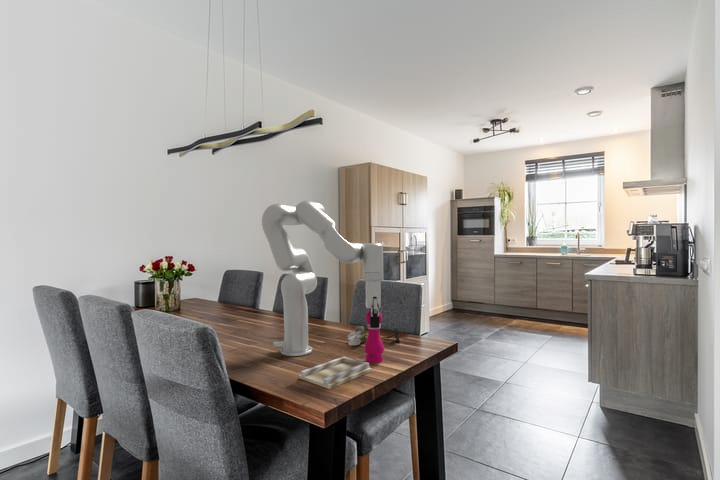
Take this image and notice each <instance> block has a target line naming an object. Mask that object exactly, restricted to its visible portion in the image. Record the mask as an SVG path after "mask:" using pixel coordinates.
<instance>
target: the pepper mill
mask: <svg viewBox="0 0 720 480" xmlns="http://www.w3.org/2000/svg"><path fill="white" fill-rule="evenodd" d="M372 308H374V307H372ZM370 316H371V311H369V310H368V311H367V313H366V314H365V321H366V322H367V324H366V325H367V326H366V327H367V329H368V334H367V338H366V340H367V341H366V342H364V343H365V345H364V352H365V354H366V355H365V362H367V363H369V364H381V363H382V362H384V356H383V353H384V352H385V345H384V343H383V340H382V339H381V338H382V337H381V333H380V330H381V326H382V324H381V322H382V321H383V315H382V313H381V312H380V311H379V326H380V327H379V328H371V327H370Z"/></svg>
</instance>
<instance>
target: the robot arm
mask: <svg viewBox="0 0 720 480" xmlns="http://www.w3.org/2000/svg"><path fill="white" fill-rule="evenodd" d="M301 225H305V226H306V227H307V228H308V229H309V230H310V231H312V232H313V233H314V234H315V235H316V236H317V237H319V239H320V241H321V243H322V245H323V246H324V249H326V250H327V252H329V253H330V255H332V257H334V258H336V259H337V260H338V261H339V262H341V263H343V264H345V265H349V264H355V263H362V281H363V282H365V302H364V303H365V307H366V309H367V310H368V312H369V311H371V316H370V327H371V328H379V327H380V326H381V325H380V326H379V312H380V310H379V309H381V304H382V303H381V302H382V301H381V299H382V297H381V295H382V294H381V293H382V292H381V289H382V288H381V287H382V286H381V282H384V279H385V278H384V276H385V275H384V247H383V244H382V243H380V242H379V243H377V242H375V243H373V242H372V243H371V242H370V243H369V242H368V243H361V242H349V241H347V240H346V239H344V237H343V236H342V235H340V233H339V232H338V231H337V230H336V222H335V220H334V219H332V217H330V216H329V215H328V214H327V213H326V209H325V207H324V206H323V205H322V204H321V203H319V202H317V201H312V200H302V201H300V202H298V204H296V205H292V204H285V203H273V204H271V205H269V206H267V207H266V208H265V210H264V212H263V213H262V216H261V227H262V231H263V233H264V236H265V238H266V240H267V242H268V245H269V248H270V250H271V253H272V257H273V259H274V262H275V264H276V266H277V268H278V269H279V270H280V271H283V272H290V271H292V272H291V273H289V274H287V275H285V276H284V277H283V279H282V280H281V283H280V291H281V295H282V302H283V334H284V335H283V340H281V341H273V343H272V346H273V347H275V349H277V348H278V349H279V348H280V351H279V352H280V354H281V355H283V356H287V357H300V356H306V355H308V354H309V355H310V354H311V353H312V352H313V347H312V346H310V345H309V310H308V301H307V299H306V295H308V294H311V293H313V292H314V291H315V289H316V288H317V286H318V278H317V275H316V272H315V269H314V267H313V264H312V262H311V259H310V256H309V255H308V253H307V252H306V250H305V249H303V248H301V247H298V246H297V247H296V246H295V247H294V245H293V243H292V242H291V239H290V238H291V237H290V235H289V234H288V232H287V231H286V230H285V228H284V227H283V226H301ZM372 307H374V308H372Z"/></svg>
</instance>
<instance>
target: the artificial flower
mask: <svg viewBox="0 0 720 480" xmlns="http://www.w3.org/2000/svg"><path fill="white" fill-rule="evenodd" d="M393 331H394V335H393V334H392V335H388V336H383V337H381V340H382V339H391V338H393V337H395V341H396V342H397V343H401V342H400V338H399V331H398V326H396V327H394V328H393ZM366 337H367V333H366V330H365V327H364V325H356V326H355V328H354V331H352V332H349V334H348V335H347V340H348V341H349V342H348V346H359V345H360V344H361V342H362V343H366V341H367V338H366Z"/></svg>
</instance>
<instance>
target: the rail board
mask: <svg viewBox="0 0 720 480" xmlns="http://www.w3.org/2000/svg"><path fill="white" fill-rule="evenodd" d="M372 370H373V369H372V367H370V363H369V362H367V361H362V360H359V359H356V358H351V357H349V356H340V357H337V358H336V359H332V360H329V361H327V362H324V363H321V364H318V365H315V366H312V367H310V368H306V369H304V370H300V374H299V375H298V377H299V378H298V379H300V380H303V381H306V382H309V383H311V384H314V385H317V386H320V387H322V388H324V389H328V390H330V389H333V388H335V387H338V386H340V385H342V384H344V383H348V382H349V381H351V380H354V379H356V378H358V377H362V376H363V375H366V374H368V373H371V372H372Z"/></svg>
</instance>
